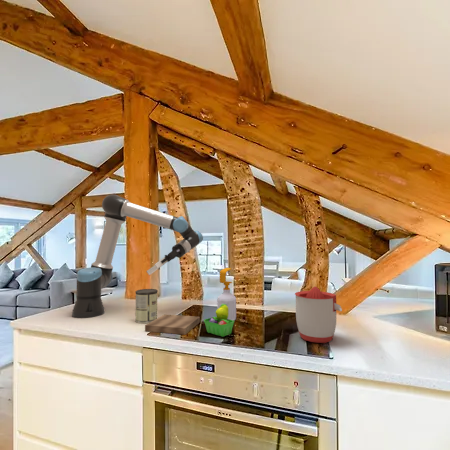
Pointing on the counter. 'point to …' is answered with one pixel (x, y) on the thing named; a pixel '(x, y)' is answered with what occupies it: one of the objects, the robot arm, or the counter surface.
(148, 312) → the coffee can
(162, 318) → the walnut trivet board
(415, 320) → the counter surface
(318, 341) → the citrus juicer
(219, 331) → the fruit basket
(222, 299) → the soap bottle
